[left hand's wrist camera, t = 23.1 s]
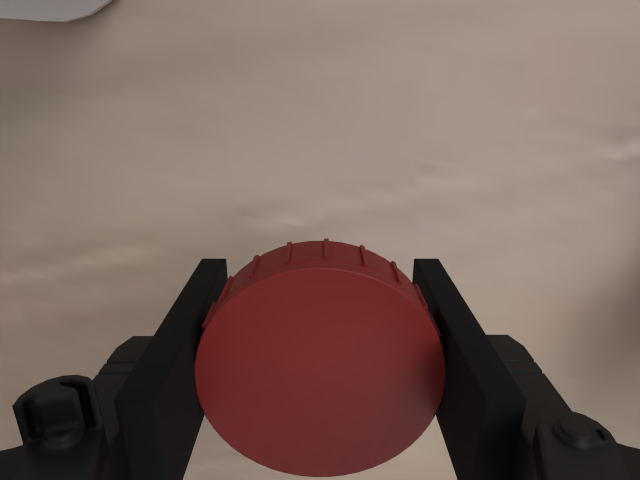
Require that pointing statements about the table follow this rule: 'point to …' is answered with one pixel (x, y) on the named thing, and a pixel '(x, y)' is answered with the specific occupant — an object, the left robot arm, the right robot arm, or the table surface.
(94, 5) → the mug
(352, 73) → the table surface
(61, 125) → the table surface
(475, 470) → the left robot arm
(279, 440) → the lid
